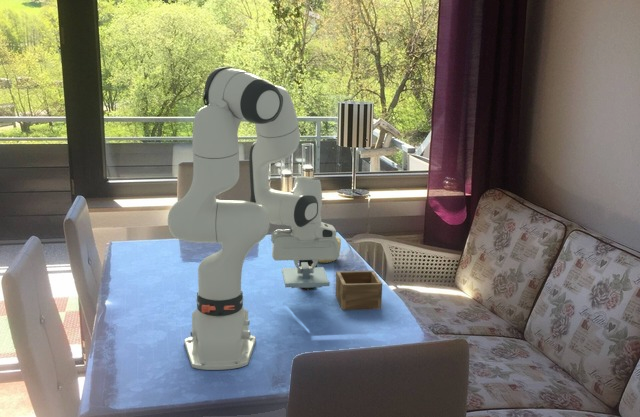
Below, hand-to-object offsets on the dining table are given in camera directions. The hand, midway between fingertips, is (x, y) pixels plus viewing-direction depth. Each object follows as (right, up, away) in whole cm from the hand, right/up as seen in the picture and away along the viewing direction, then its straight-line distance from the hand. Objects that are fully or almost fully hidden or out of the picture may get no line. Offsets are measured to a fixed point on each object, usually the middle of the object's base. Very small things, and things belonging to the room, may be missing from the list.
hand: (305, 273), depth 193 cm
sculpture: (+6, 0, +48) cm, 48 cm away
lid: (0, -2, +1) cm, 2 cm away
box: (+16, -11, +6) cm, 20 cm away
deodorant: (0, -7, +17) cm, 19 cm away
